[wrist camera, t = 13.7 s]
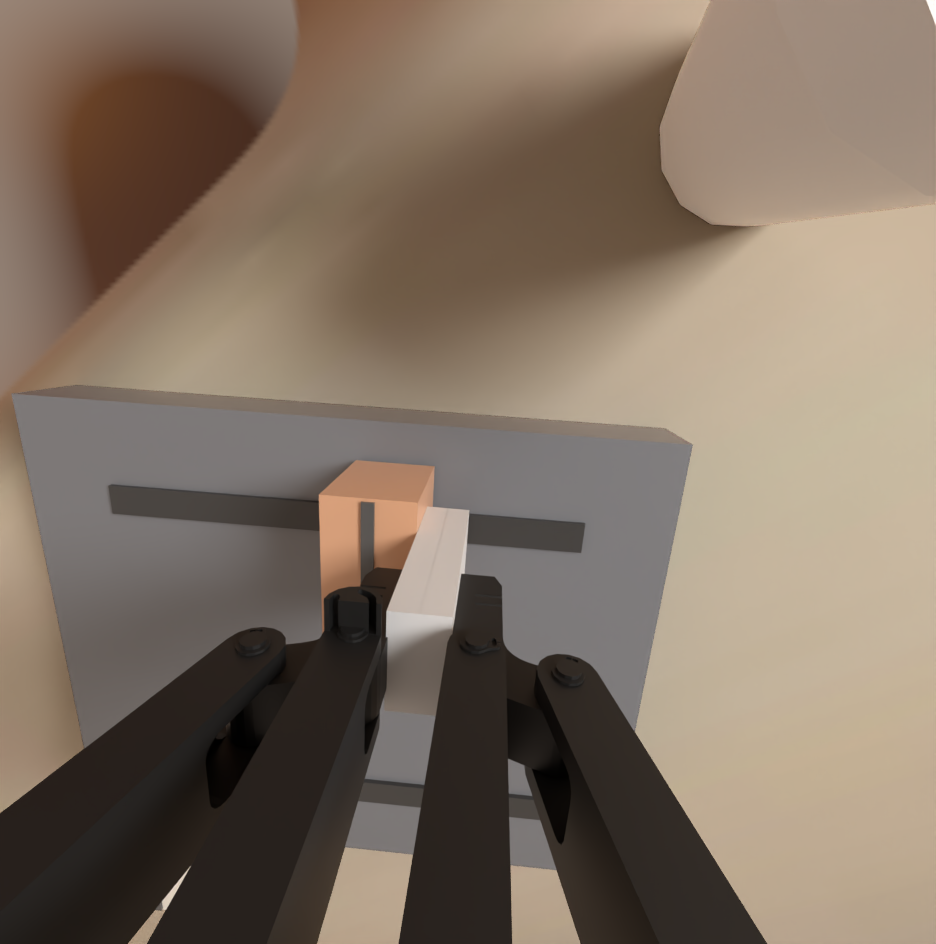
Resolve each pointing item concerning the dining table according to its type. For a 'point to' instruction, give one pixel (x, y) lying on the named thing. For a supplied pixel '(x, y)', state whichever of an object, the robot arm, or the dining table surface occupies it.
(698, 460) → the dining table surface
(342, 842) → the robot arm
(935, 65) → the foam cup
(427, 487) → the fader
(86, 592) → the slider panel
